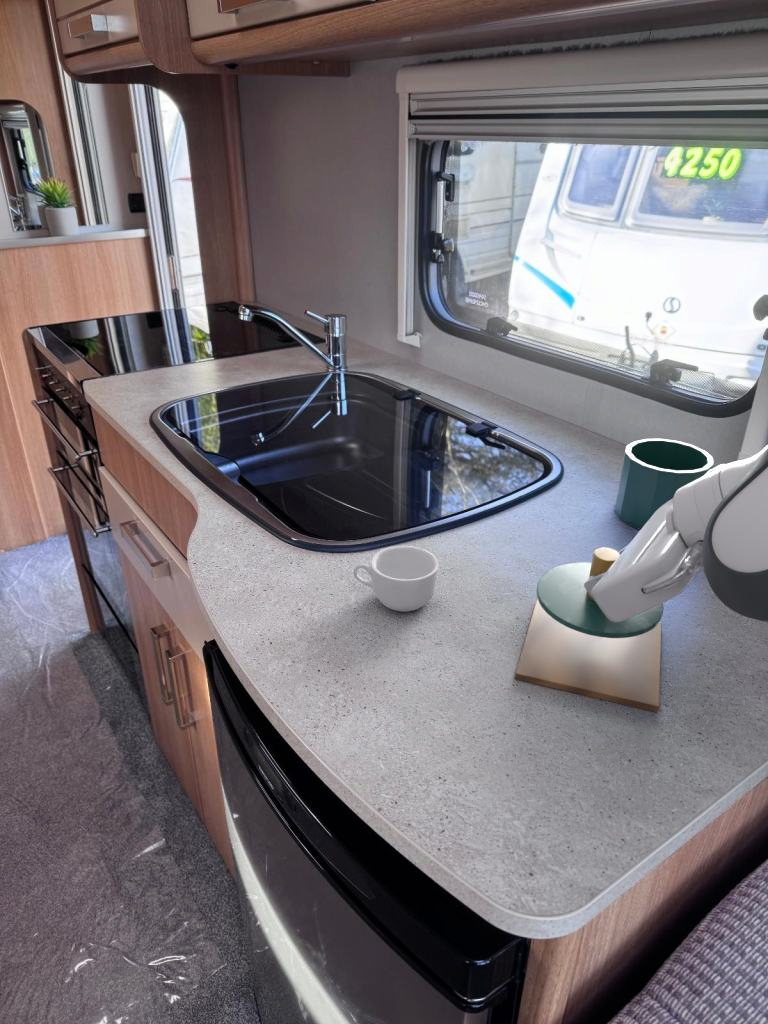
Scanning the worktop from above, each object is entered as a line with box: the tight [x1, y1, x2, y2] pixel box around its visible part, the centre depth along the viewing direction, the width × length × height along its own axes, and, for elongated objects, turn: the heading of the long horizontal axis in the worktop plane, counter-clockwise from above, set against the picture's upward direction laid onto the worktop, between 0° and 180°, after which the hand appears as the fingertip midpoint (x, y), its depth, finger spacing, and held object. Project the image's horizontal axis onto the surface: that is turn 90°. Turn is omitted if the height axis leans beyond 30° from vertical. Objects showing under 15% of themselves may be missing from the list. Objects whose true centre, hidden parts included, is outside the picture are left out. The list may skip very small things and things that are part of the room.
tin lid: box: [536, 546, 665, 638], centre depth 73 cm, size 13×13×6 cm
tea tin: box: [614, 438, 715, 531], centre depth 103 cm, size 12×12×10 cm
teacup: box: [353, 545, 440, 613], centre depth 85 cm, size 10×8×5 cm
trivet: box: [514, 597, 663, 713], centre depth 78 cm, size 14×14×1 cm
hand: (597, 579), depth 74 cm, fingers closed on tin lid, 2 cm apart
